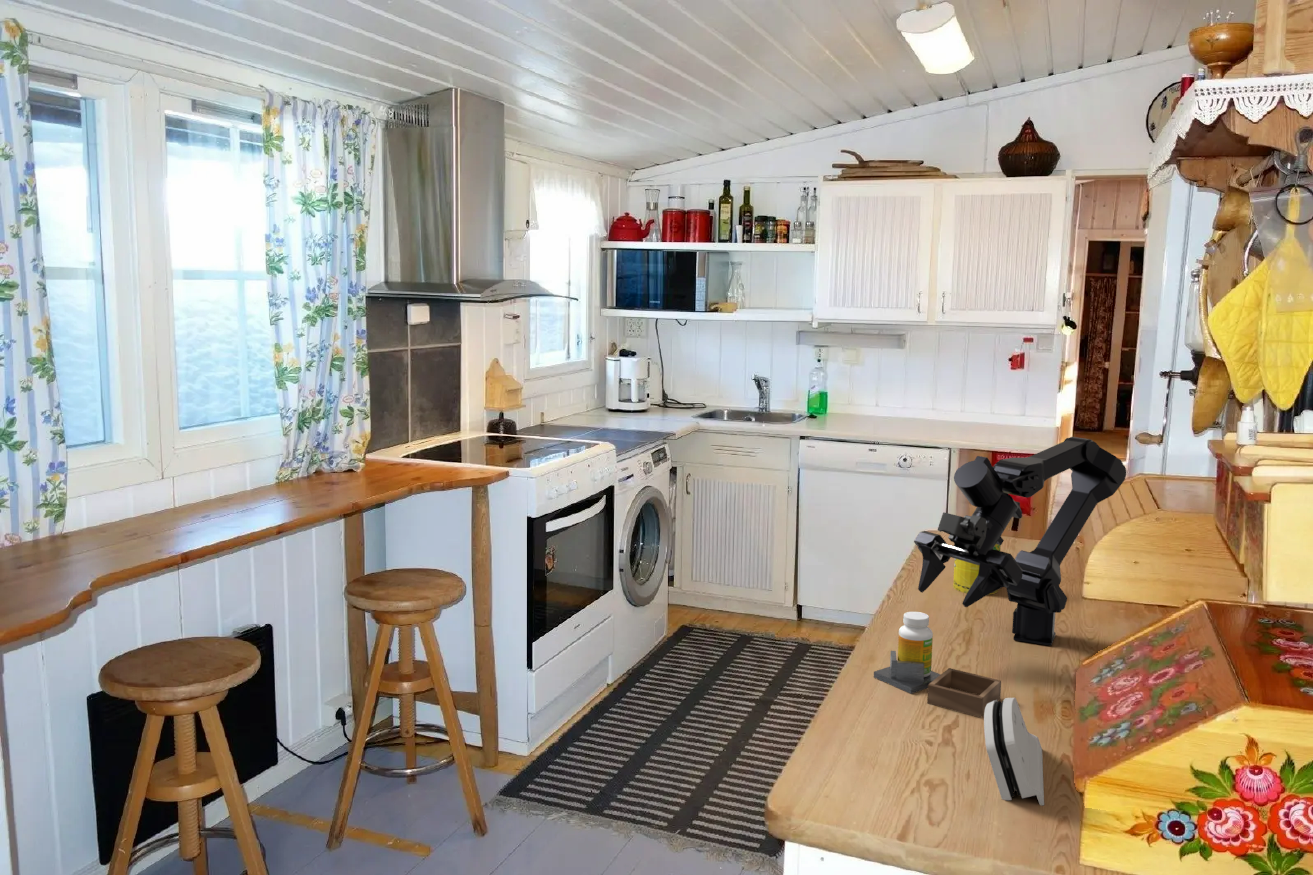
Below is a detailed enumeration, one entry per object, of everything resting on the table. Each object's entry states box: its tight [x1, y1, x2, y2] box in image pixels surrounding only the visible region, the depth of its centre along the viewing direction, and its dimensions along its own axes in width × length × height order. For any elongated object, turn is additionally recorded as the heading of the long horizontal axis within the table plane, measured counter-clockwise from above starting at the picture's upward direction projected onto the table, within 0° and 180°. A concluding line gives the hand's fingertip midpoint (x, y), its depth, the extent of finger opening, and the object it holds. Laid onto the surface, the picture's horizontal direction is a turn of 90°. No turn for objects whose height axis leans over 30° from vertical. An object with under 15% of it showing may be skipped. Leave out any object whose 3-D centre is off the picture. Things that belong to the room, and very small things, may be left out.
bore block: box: [926, 667, 1002, 718], centre depth 158 cm, size 8×8×3 cm
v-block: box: [873, 650, 942, 695], centre depth 166 cm, size 8×8×4 cm
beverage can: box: [952, 544, 1002, 596], centre depth 212 cm, size 9×9×12 cm
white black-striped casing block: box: [983, 697, 1045, 806], centre depth 136 cm, size 17×5×10 cm, turn 161°
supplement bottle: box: [897, 611, 934, 677], centre depth 166 cm, size 5×5×10 cm
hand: (941, 598), depth 168 cm, fingers open, 9 cm apart
